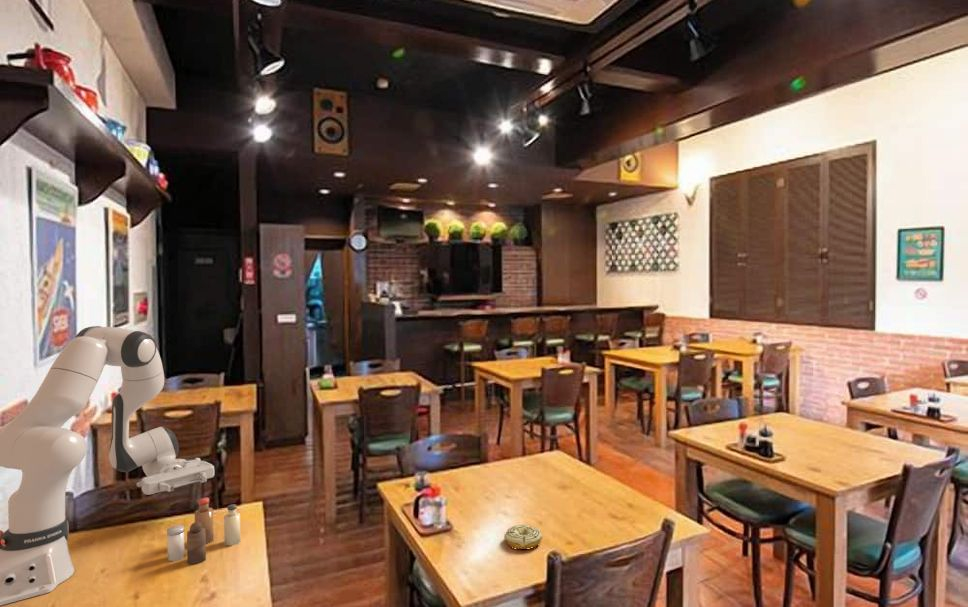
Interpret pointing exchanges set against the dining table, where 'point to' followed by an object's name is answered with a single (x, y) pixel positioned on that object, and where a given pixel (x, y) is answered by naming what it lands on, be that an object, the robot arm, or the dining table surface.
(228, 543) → the vinegar bottle
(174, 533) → the salt shaker
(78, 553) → the dining table surface
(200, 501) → the soy bottle
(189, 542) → the pepper mill
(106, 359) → the robot arm
